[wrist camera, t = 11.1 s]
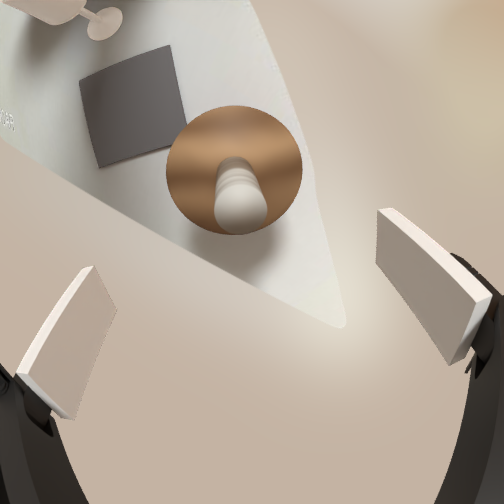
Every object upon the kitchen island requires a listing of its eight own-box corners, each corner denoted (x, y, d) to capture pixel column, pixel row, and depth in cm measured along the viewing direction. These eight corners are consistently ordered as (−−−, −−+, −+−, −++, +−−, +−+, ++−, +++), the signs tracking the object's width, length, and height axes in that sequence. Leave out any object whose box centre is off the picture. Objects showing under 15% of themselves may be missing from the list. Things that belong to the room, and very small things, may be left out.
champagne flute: (127, 4, 26) (51, -54, 5) (117, 39, 29) (26, -2, 8) (92, 9, 25) (6, -31, 4) (83, 43, 28) (-15, 19, 7)
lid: (152, 124, 26) (118, 143, 17) (290, 95, 26) (326, 98, 17) (187, 241, 34) (177, 301, 25) (305, 217, 34) (336, 269, 25)
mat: (80, 81, 32) (78, 81, 31) (170, 45, 31) (169, 44, 31) (100, 167, 39) (99, 168, 39) (190, 139, 39) (189, 139, 38)
